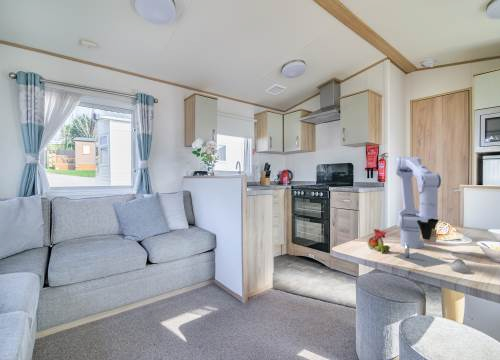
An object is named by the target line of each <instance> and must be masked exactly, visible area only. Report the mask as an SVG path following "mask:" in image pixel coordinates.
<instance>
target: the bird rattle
mask: <svg viewBox="0 0 500 360" xmlns="http://www.w3.org/2000/svg"><path fill="white" fill-rule="evenodd" d="M373 231H374V233H375V234H372V235H370V236H369V237H368V238H367V245H368V248H369V250H373V251H376V252H379V251H380V253H381V254H383V253H384V252H385V251H386V252H390V249H391V247H390V245H385V244H384V240H383V239H385V238H386V234H387V231H381V230H380V229H378V228H374V229H373Z"/></svg>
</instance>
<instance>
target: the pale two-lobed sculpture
mask: <svg viewBox="0 0 500 360" xmlns="http://www.w3.org/2000/svg"><path fill="white" fill-rule="evenodd" d="M450 269H451V271H452V272H455V273H459V274H470V272H471V271H470V270H469V267H468V266H467V265H466V263H465V261H464V260H462V259H461V258H457V259H455V260H454V261H452V264H451V265H450Z"/></svg>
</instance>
